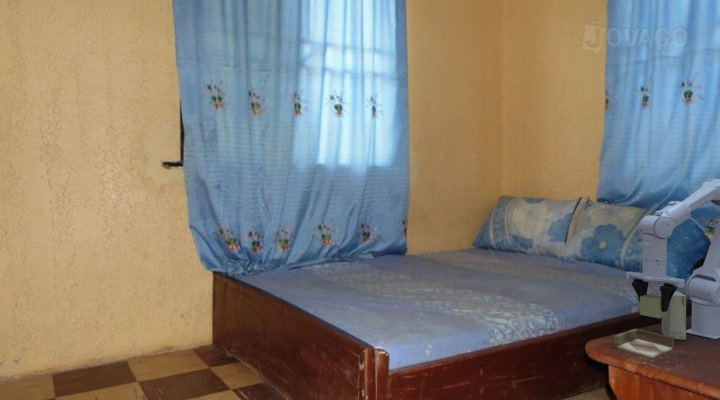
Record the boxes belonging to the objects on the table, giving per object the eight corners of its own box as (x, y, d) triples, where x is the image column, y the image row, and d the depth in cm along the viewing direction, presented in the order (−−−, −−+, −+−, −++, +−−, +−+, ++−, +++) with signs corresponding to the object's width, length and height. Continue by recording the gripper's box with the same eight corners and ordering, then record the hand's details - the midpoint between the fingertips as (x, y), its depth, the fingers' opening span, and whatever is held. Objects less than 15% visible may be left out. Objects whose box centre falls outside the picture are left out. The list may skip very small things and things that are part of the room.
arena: (635, 338, 148) (635, 328, 147) (673, 348, 139) (674, 337, 139) (613, 347, 141) (613, 335, 141) (652, 357, 133) (652, 345, 133)
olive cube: (648, 311, 150) (648, 293, 150) (667, 315, 146) (667, 296, 146) (639, 314, 147) (640, 296, 147) (658, 318, 143) (659, 299, 143)
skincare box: (686, 340, 146) (687, 295, 145) (669, 339, 147) (669, 295, 146) (677, 333, 152) (678, 290, 152) (660, 332, 153) (661, 290, 152)
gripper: (620, 258, 149) (620, 306, 150) (676, 265, 138) (675, 317, 138) (633, 255, 153) (632, 302, 154) (688, 262, 142) (687, 312, 143)
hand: (653, 309), depth 147 cm, fingers closed on olive cube, 5 cm apart
